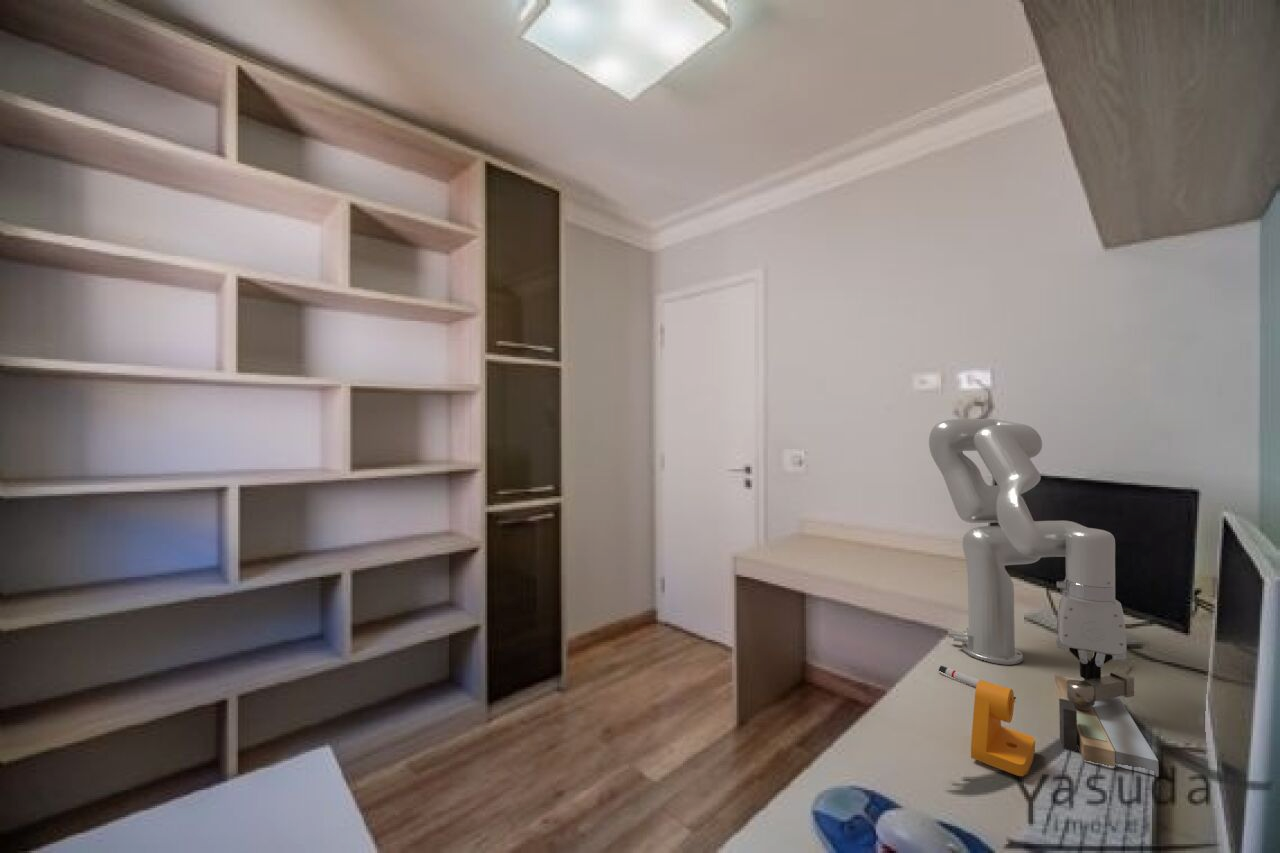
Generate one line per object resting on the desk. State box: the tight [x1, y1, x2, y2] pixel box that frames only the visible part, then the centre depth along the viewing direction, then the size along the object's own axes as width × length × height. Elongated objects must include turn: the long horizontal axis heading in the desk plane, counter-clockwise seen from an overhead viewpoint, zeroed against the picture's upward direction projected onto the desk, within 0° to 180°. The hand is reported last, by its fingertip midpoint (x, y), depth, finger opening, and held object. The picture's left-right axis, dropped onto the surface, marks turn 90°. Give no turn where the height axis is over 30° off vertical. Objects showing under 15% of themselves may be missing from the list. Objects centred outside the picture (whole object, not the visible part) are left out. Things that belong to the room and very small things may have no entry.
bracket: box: [970, 679, 1036, 777], centre depth 90 cm, size 11×7×12 cm, turn 134°
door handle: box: [1067, 670, 1135, 706], centre depth 101 cm, size 14×4×4 cm, turn 106°
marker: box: [938, 665, 1017, 701], centre depth 114 cm, size 15×2×2 cm, turn 31°
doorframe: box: [1054, 674, 1160, 778], centre depth 99 cm, size 12×28×7 cm, turn 149°
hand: (1090, 682), depth 104 cm, fingers closed
